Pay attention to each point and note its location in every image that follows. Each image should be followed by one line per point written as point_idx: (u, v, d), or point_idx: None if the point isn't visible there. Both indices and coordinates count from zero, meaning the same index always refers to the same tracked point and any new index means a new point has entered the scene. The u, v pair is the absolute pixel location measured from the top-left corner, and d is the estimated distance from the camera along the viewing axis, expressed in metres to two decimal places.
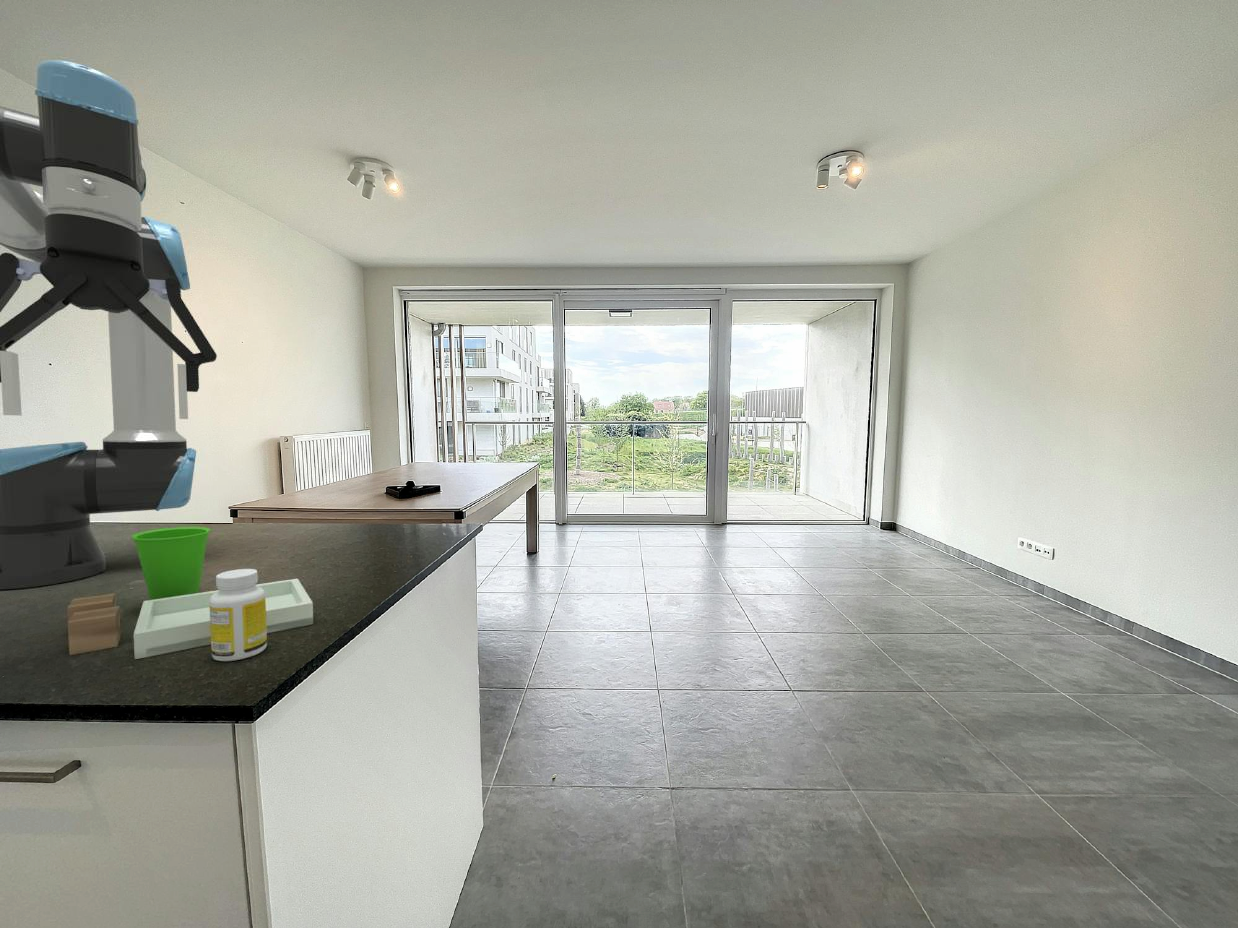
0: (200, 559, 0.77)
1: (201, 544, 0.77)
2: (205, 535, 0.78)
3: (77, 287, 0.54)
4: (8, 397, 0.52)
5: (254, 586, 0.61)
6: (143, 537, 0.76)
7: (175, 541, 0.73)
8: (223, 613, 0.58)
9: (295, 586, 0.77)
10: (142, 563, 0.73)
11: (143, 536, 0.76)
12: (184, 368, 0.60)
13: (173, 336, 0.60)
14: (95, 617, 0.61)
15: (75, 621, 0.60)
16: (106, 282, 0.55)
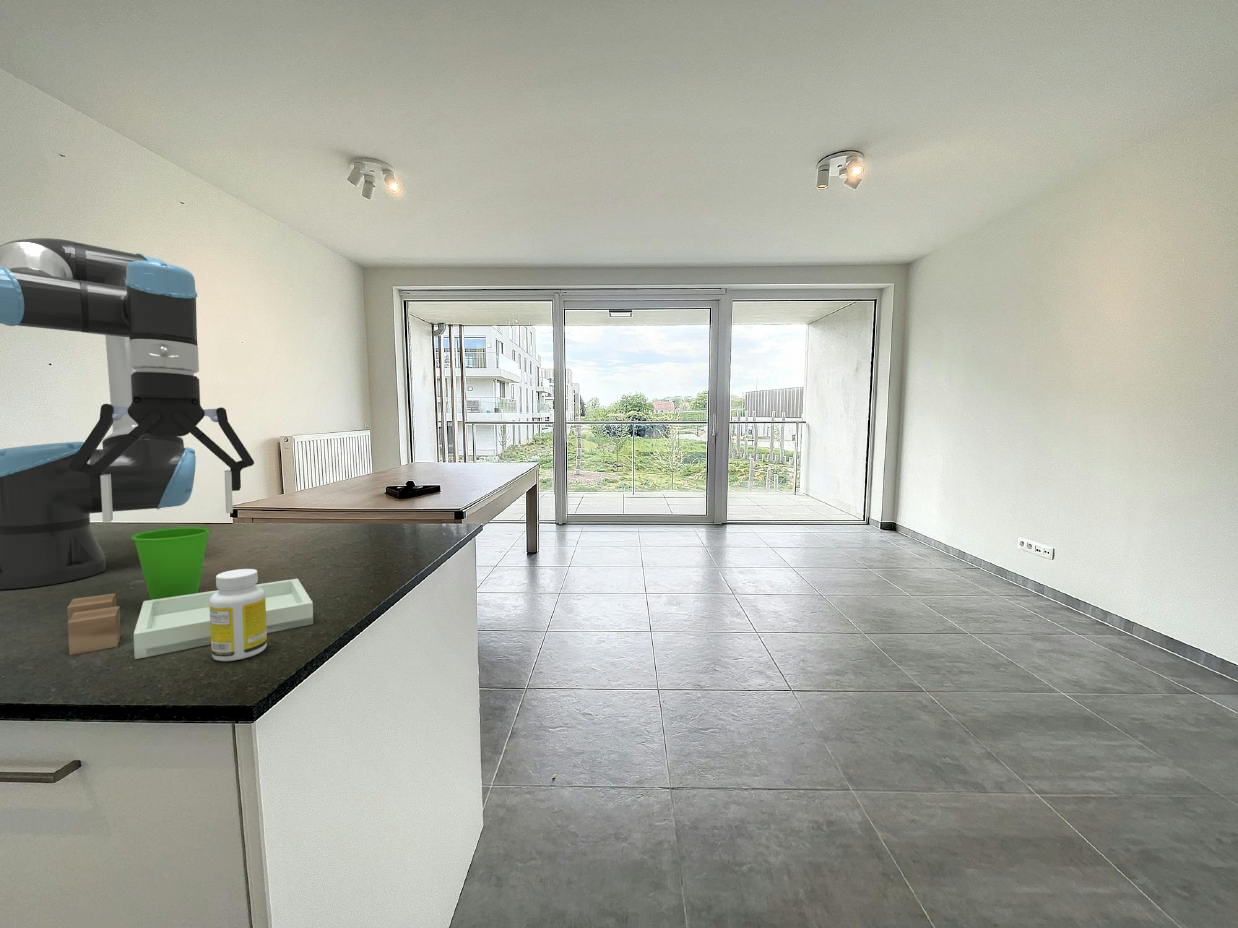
0: (200, 559, 0.77)
1: (201, 544, 0.77)
2: (205, 535, 0.78)
3: (154, 423, 0.73)
4: (106, 509, 0.70)
5: (254, 586, 0.61)
6: (143, 537, 0.76)
7: (175, 541, 0.73)
8: (223, 613, 0.58)
9: (295, 586, 0.77)
10: (142, 563, 0.73)
11: (143, 536, 0.76)
12: (230, 474, 0.79)
13: (222, 451, 0.78)
14: (95, 617, 0.61)
15: (75, 621, 0.60)
16: (174, 417, 0.74)
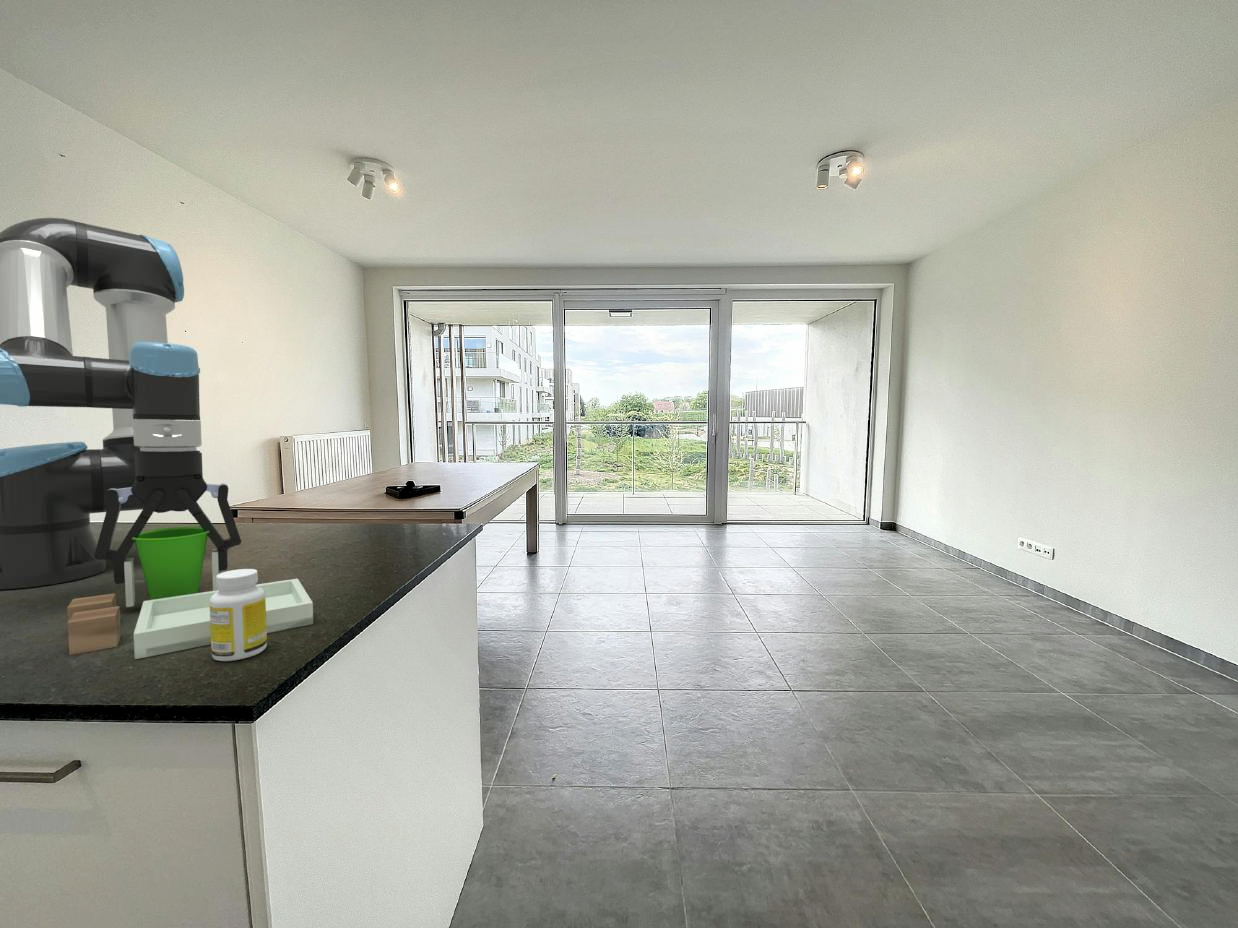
0: (200, 559, 0.77)
1: (201, 544, 0.77)
2: (205, 535, 0.78)
3: (159, 500, 0.74)
4: (129, 594, 0.73)
5: (254, 586, 0.61)
6: (143, 537, 0.76)
7: (175, 541, 0.73)
8: (223, 613, 0.58)
9: (295, 586, 0.77)
10: (142, 563, 0.73)
11: (143, 536, 0.76)
12: (217, 555, 0.79)
13: (213, 530, 0.78)
14: (95, 616, 0.61)
15: (75, 620, 0.60)
16: (177, 493, 0.75)
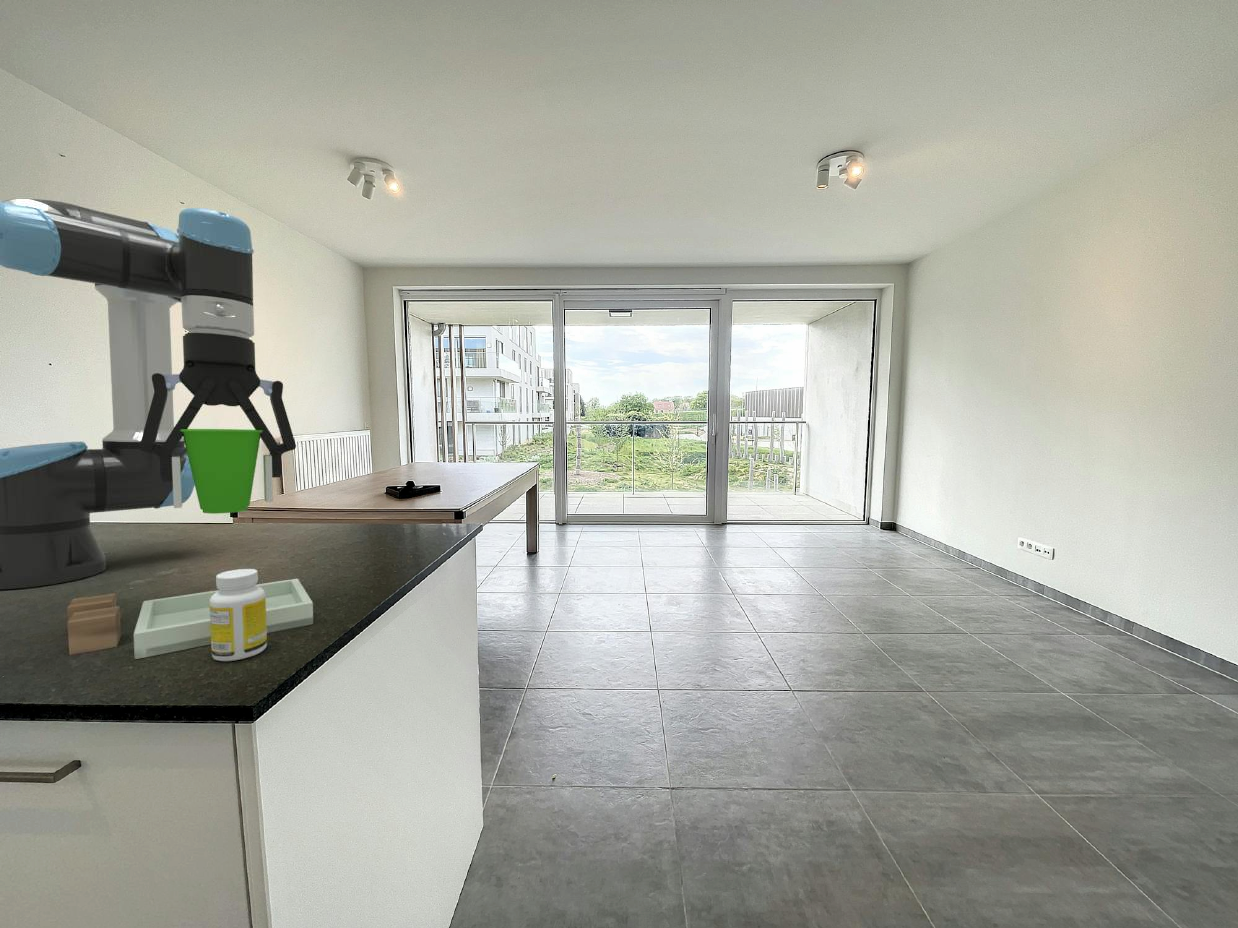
0: (253, 461, 0.69)
1: (254, 444, 0.69)
2: (258, 434, 0.70)
3: (210, 390, 0.66)
4: (177, 493, 0.65)
5: (254, 586, 0.61)
6: None
7: (228, 435, 0.65)
8: (223, 613, 0.58)
9: (295, 586, 0.77)
10: (191, 459, 0.65)
11: None
12: (270, 459, 0.71)
13: (267, 430, 0.70)
14: (95, 617, 0.61)
15: (75, 621, 0.60)
16: (229, 383, 0.67)
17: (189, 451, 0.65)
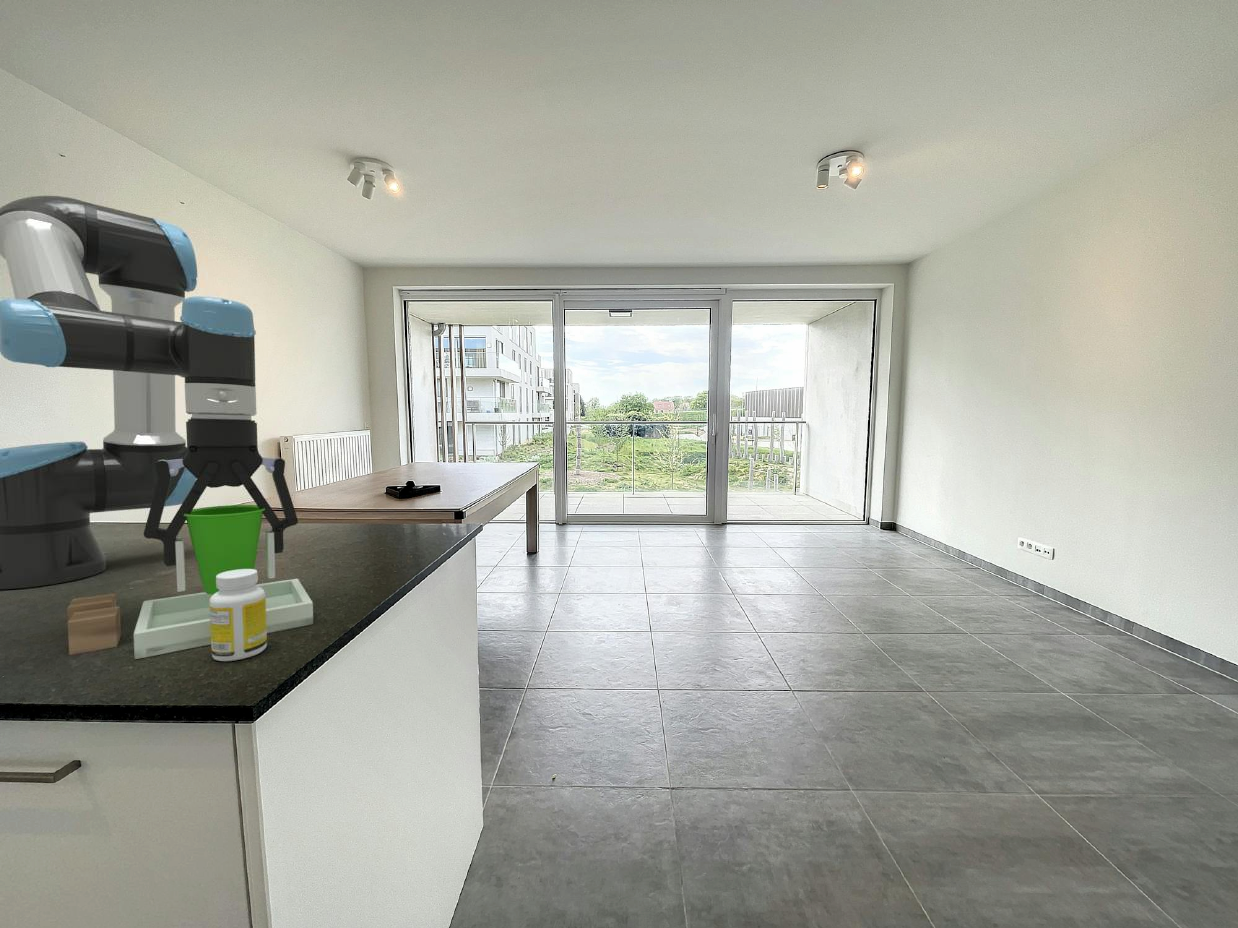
0: (255, 539, 0.70)
1: (257, 523, 0.70)
2: (261, 513, 0.70)
3: (213, 474, 0.67)
4: (181, 577, 0.65)
5: (254, 586, 0.61)
6: (193, 515, 0.68)
7: (231, 518, 0.66)
8: (223, 613, 0.58)
9: (295, 586, 0.77)
10: (194, 543, 0.66)
11: (193, 514, 0.68)
12: (272, 536, 0.71)
13: (269, 508, 0.71)
14: (95, 617, 0.61)
15: (75, 621, 0.60)
16: (232, 466, 0.68)
17: (192, 534, 0.66)
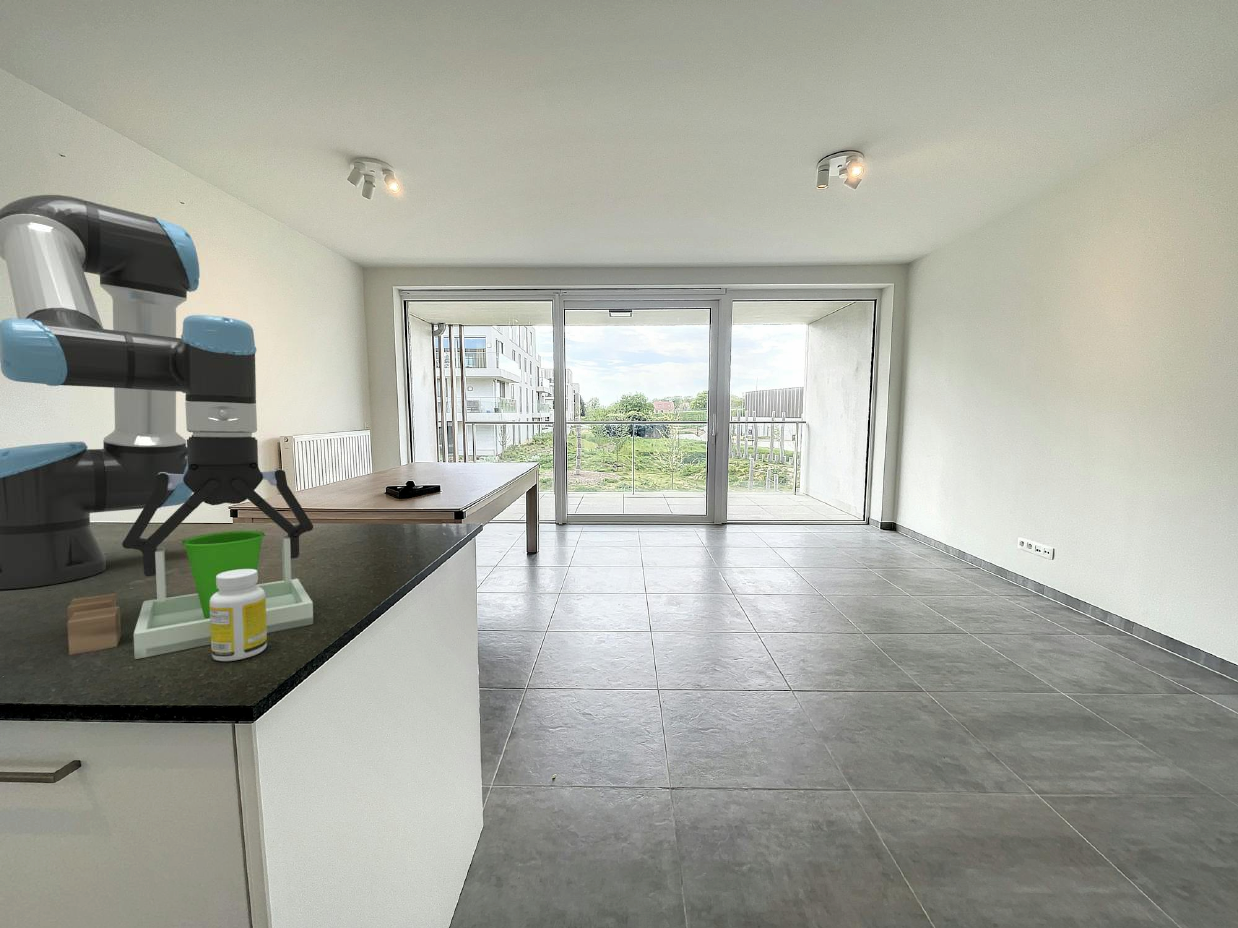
0: (255, 566, 0.70)
1: (256, 549, 0.70)
2: (260, 539, 0.71)
3: (212, 492, 0.67)
4: (161, 588, 0.64)
5: (254, 586, 0.61)
6: (193, 543, 0.69)
7: (230, 546, 0.66)
8: (223, 613, 0.58)
9: (295, 586, 0.77)
10: (194, 571, 0.66)
11: (193, 542, 0.69)
12: (289, 541, 0.73)
13: (281, 516, 0.72)
14: (95, 617, 0.61)
15: (74, 621, 0.60)
16: (233, 484, 0.68)
17: (192, 563, 0.66)
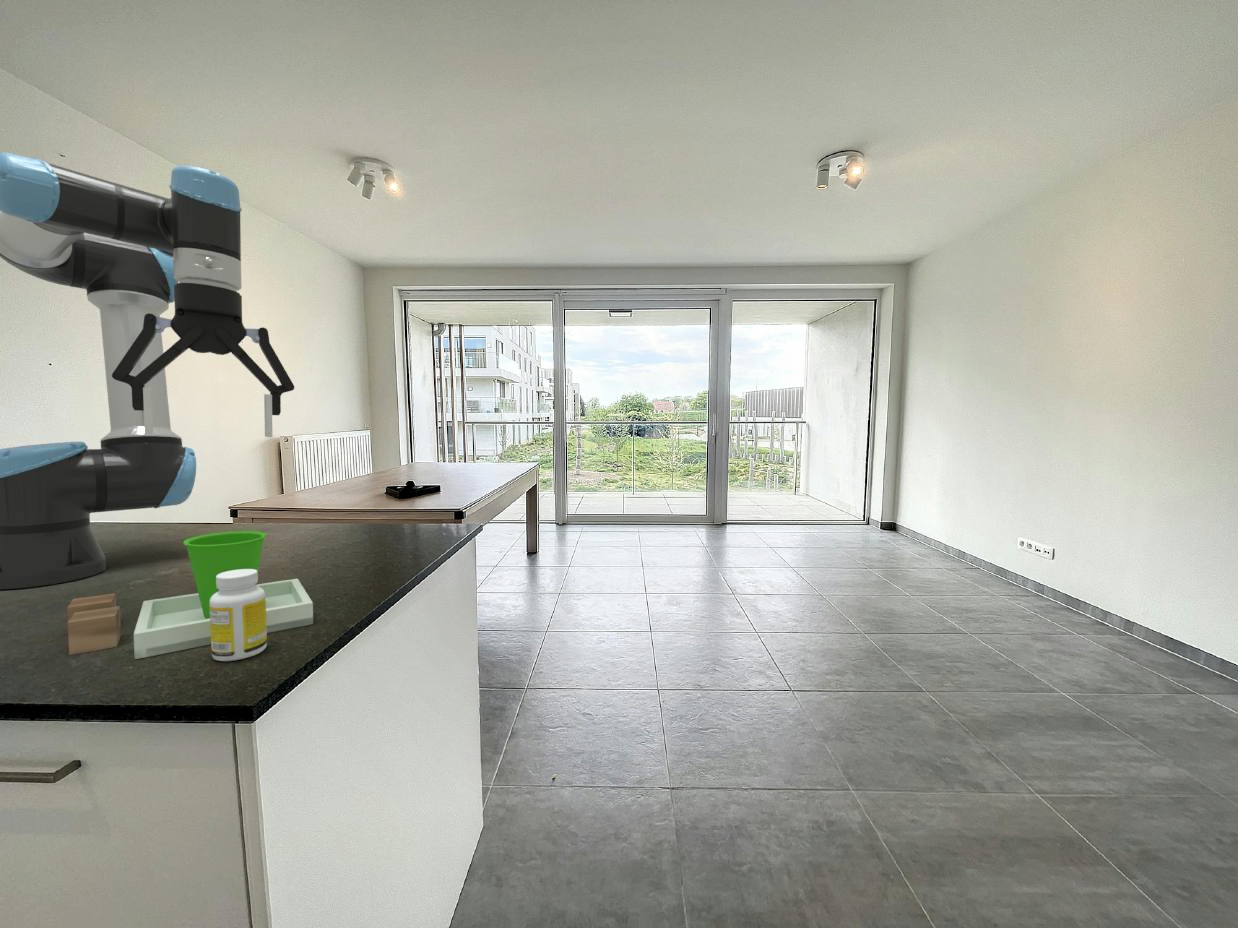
0: (256, 567, 0.70)
1: (257, 550, 0.70)
2: (261, 540, 0.71)
3: (197, 338, 0.71)
4: (148, 422, 0.69)
5: (254, 586, 0.61)
6: (194, 542, 0.69)
7: (232, 547, 0.66)
8: (223, 613, 0.58)
9: (295, 586, 0.77)
10: (195, 572, 0.66)
11: (194, 542, 0.69)
12: (270, 397, 0.77)
13: (263, 372, 0.76)
14: (95, 617, 0.61)
15: (75, 620, 0.60)
16: (217, 333, 0.72)
17: (193, 564, 0.66)
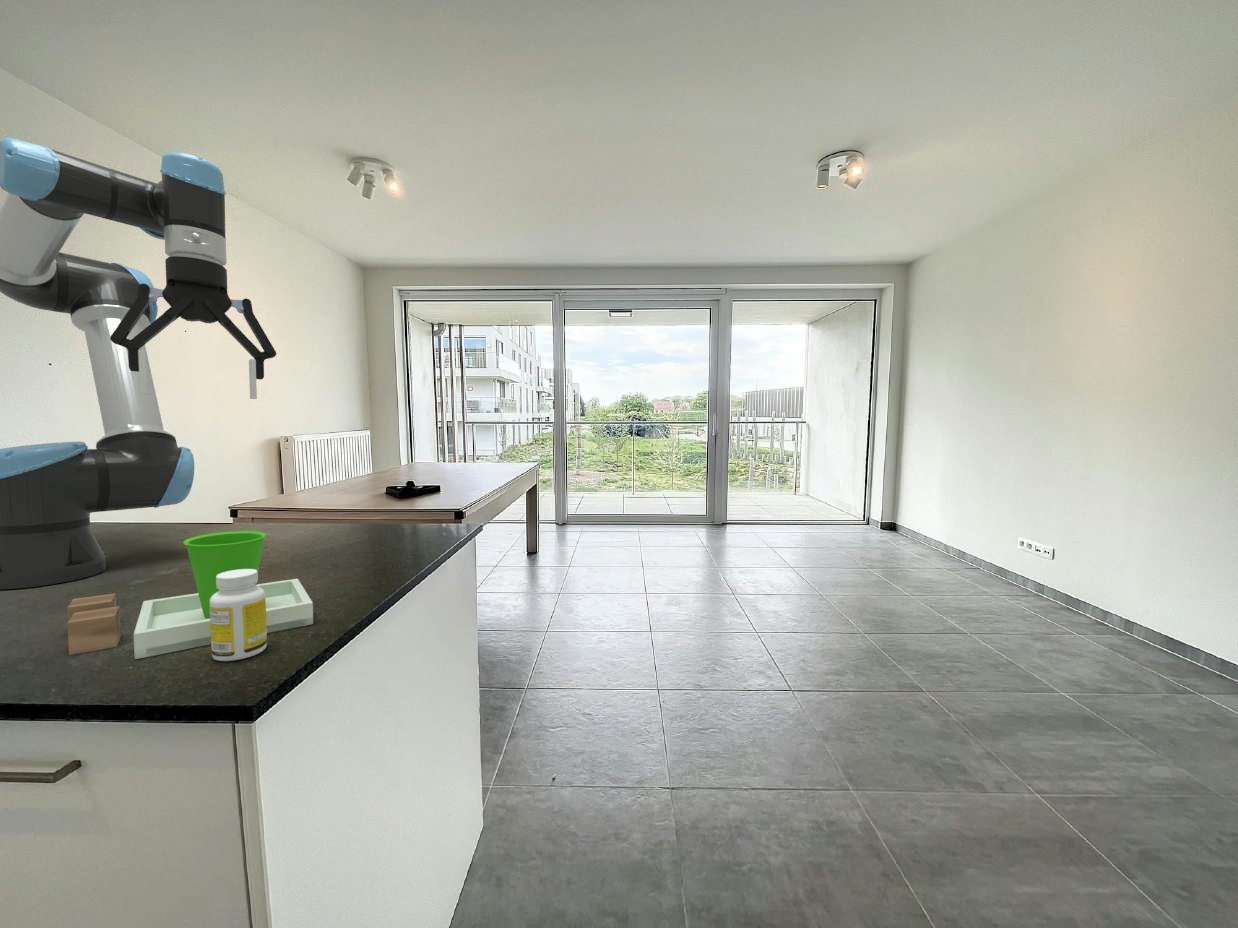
0: (256, 567, 0.70)
1: (257, 550, 0.70)
2: (261, 540, 0.71)
3: (186, 306, 0.79)
4: (143, 381, 0.77)
5: (254, 586, 0.61)
6: (194, 542, 0.69)
7: (232, 547, 0.66)
8: (223, 613, 0.58)
9: (295, 586, 0.77)
10: (195, 572, 0.66)
11: (194, 542, 0.69)
12: (254, 362, 0.85)
13: (247, 339, 0.84)
14: (95, 617, 0.61)
15: (74, 621, 0.60)
16: (205, 302, 0.80)
17: (193, 564, 0.66)
